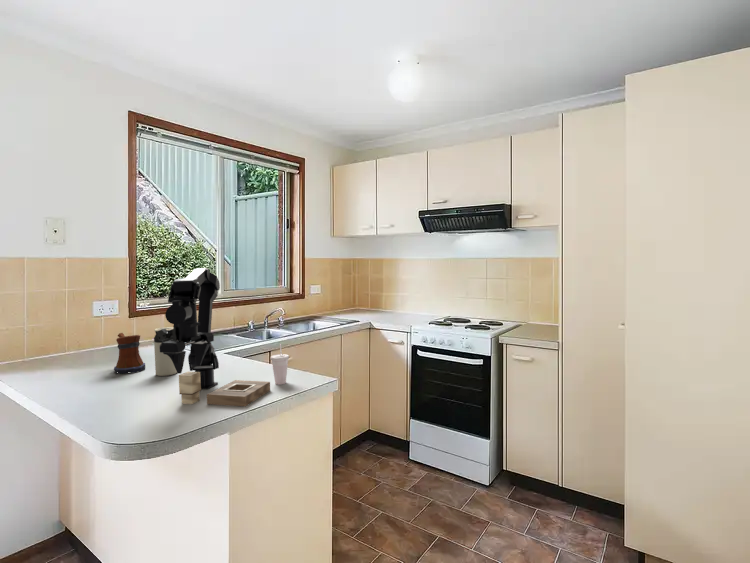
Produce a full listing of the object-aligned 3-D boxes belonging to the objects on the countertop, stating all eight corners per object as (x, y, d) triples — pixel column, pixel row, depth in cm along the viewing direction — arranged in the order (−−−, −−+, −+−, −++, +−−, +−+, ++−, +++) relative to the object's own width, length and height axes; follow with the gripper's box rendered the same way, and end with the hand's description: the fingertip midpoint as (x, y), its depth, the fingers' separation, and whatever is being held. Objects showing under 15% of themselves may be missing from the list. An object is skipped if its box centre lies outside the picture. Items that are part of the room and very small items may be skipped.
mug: (107, 368, 182) (105, 333, 181) (137, 363, 190) (135, 329, 189) (117, 376, 169) (115, 338, 168) (149, 370, 177) (147, 334, 176)
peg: (189, 399, 138) (187, 371, 137) (201, 400, 137) (200, 372, 136) (179, 403, 133) (178, 375, 133) (192, 404, 132) (191, 375, 132)
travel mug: (172, 376, 166) (170, 330, 166) (151, 376, 166) (149, 330, 166) (181, 371, 174) (179, 326, 174) (161, 371, 174) (159, 327, 174)
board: (235, 388, 148) (235, 379, 148) (270, 390, 145) (269, 381, 145) (207, 404, 132) (206, 393, 132) (245, 406, 130) (245, 395, 129)
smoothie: (293, 382, 155) (292, 343, 154) (280, 386, 149) (278, 346, 149) (281, 379, 158) (279, 341, 158) (267, 383, 153) (266, 344, 152)
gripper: (184, 315, 145) (186, 361, 145) (142, 324, 126) (144, 376, 127) (213, 315, 142) (215, 362, 143) (175, 324, 124) (177, 378, 125)
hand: (189, 369), depth 135 cm, fingers open, 9 cm apart
